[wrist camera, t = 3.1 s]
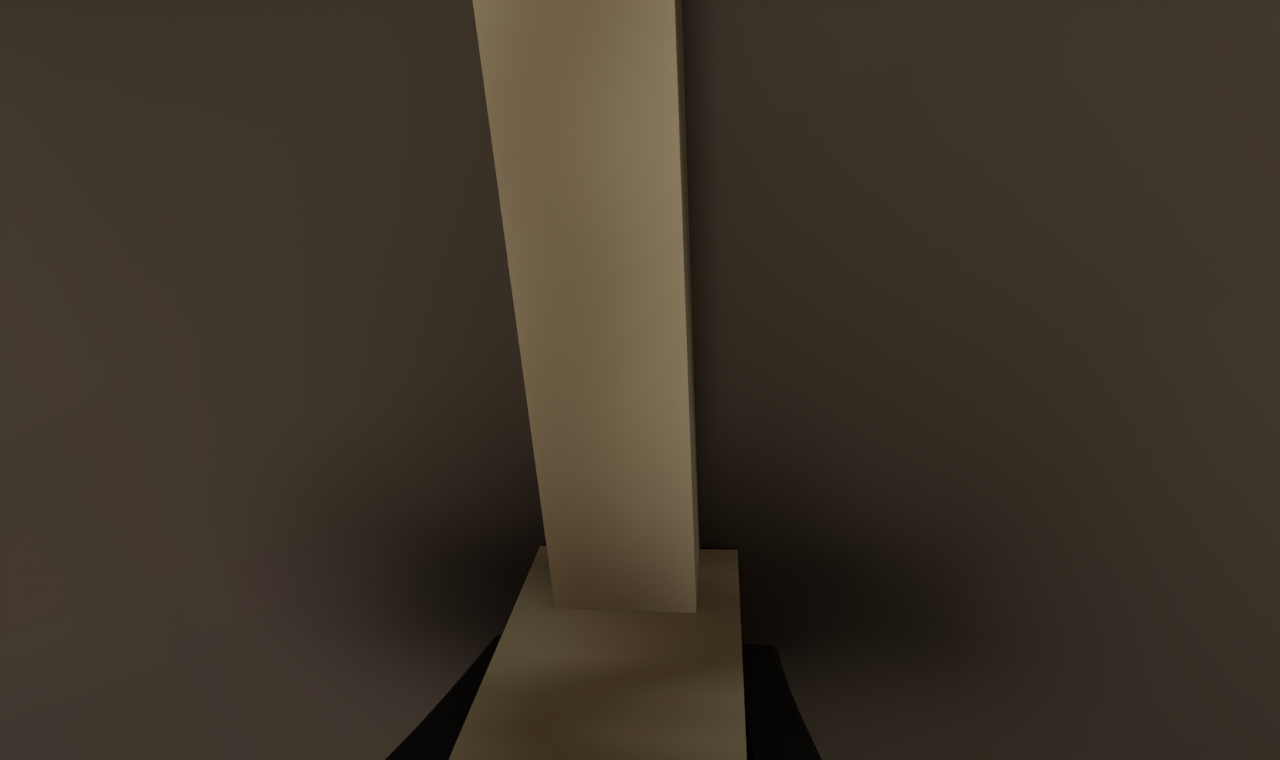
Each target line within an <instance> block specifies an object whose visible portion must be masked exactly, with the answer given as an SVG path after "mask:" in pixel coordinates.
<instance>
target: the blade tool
mask: <svg viewBox="0 0 1280 760" xmlns="http://www.w3.org/2000/svg"><path fill="white" fill-rule="evenodd" d="M473 7H474V14H475V21H476V29H477V36H478V44H479V51H480V58H481V66H482V73H483V81H484V88H485V95H486V103H487V110H488V118H489V125H490V132H491V140H492V147H493V154H494V162H495V169H496V177H497V184H498V191H499V199H500V206H501V214H502V221H503V228H504V236H505V243H506V251H507V258H508V265H509V273H510V280H511V288H512V295H513V302H514V310H515V317H516V324H517V332H518V339H519V347H520V354H521V361H522V369H523V376H524V384H525V391H526V398H527V406H528V413H529V421H530V428H531V435H532V443H533V450H534V457H535V465H536V472H537V480H538V487H539V494H540V502H541V509H542V517H543V524H544V531H545V539H546V546H540V547H539V550H538V552H537V554H536V557H535V559H534V561H533V564H532V566H531V568H530V571H529V573H528V575H527V578H526V580H525V582H524V585H523V587H522V590H521V592H520V594H519V597H518V599H517V601H516V604H515V606H514V608H513V611H512V613H511V615H510V618H509V620H508V622H507V625H506V627H505V629H504V632H503V634H502V636H501V639H500V641H499V643H498V646H497V648H496V650H495V653H494V655H493V657H492V660H491V662H490V664H489V667H488V669H487V671H486V674H485V676H484V678H483V681H482V683H481V685H480V688H479V690H478V692H477V695H476V697H475V699H474V702H473V704H472V706H471V709H470V711H469V713H468V716H467V718H466V720H465V723H464V725H463V727H462V730H461V732H460V734H459V737H458V739H457V741H456V744H455V746H454V748H453V751H452V753H451V755H450V758H449V760H747V751H746V729H745V706H744V683H743V661H742V638H741V615H740V593H739V570H738V550H720V549H699V522H698V491H697V460H696V429H695V397H694V366H693V335H692V304H691V273H690V241H689V210H688V179H687V148H686V116H685V85H684V54H683V23H682V0H473Z"/></svg>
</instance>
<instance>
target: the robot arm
mask: <svg viewBox="0 0 1280 760" xmlns="http://www.w3.org/2000/svg"><path fill="white" fill-rule="evenodd" d="M501 636H502V635H497V636H496V637H495V638H494V639H493V640H492V641H491V642H490V644H489V645H488V646H487V647H486V648H485V650H484V651H483V652H482V653H481V654H480V655H479V657H478V658H477V659H476V660H475V661H474V663H473V664H472V665H471V666H470V667H469V669H468V670H467V671H466V672H465V673H464V675H463V676H462V677H461V678H460V679H459V680H458V681H457V683H456V684H455V685H454V686H453V687H452V688H451V690H450V691H449V692H448V693H447V694H446V695H445V696H444V698H443V699H442V700H441V701H440V702H439V703H438V704H437V705H436V706H435V708H434V709H433V710H432V711H431V712H430V713H429V714H428V715H427V716H426V718H425V719H424V720H423V721H422V722H421V723H420V724H419V725H418V726H417V727H416V729H415V730H414V731H413V732H412V733H411V734H410V735H409V736H408V737H407V738H406V739H405V740H404V741H403V742H402V743H401V744H400V745H399V746H398V747H397V748H396V749H395V750H394V751H393V752H392V753H391V754H390V755H389V756H388V757H387V758H386V759H385V760H449V758H450V755H451V753H452V751H453V748H454V746H455V744H456V741H457V739H458V737H459V734H460V732H461V730H462V727H463V725H464V723H465V720H466V718H467V716H468V713H469V711H470V709H471V706H472V704H473V702H474V699H475V697H476V695H477V692H478V690H479V688H480V685H481V683H482V681H483V678H484V676H485V674H486V671H487V669H488V667H489V664H490V662H491V660H492V657H493V655H494V653H495V650H496V648H497V646H498V643H499V641H500V639H501ZM742 661H743V683H744V706H745V729H746V751H747V760H822V759H821V757H820V755H819V753H818V751H817V749H816V747H815V745H814V742H813V740H812V738H811V736H810V734H809V732H808V730H807V728H806V726H805V724H804V721H803V719H802V717H801V715H800V712H799V710H798V708H797V705H796V703H795V700H794V698H793V696H792V693H791V691H790V688H789V685H788V683H787V680H786V677H785V674H784V671H783V668H782V665H781V661H780V658H779V653H778V650H777V649H775V648H774V647H773V646H772V645H750V644H742Z"/></svg>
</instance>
